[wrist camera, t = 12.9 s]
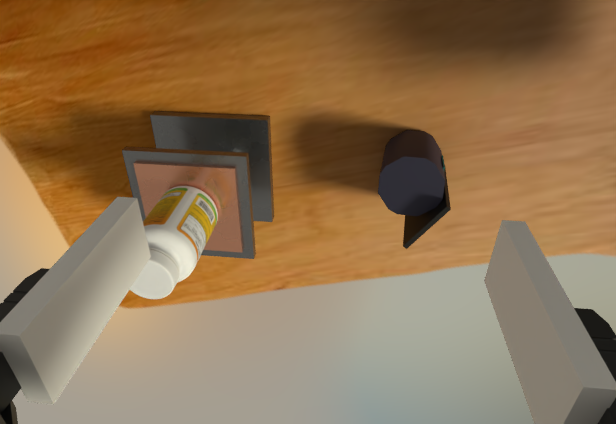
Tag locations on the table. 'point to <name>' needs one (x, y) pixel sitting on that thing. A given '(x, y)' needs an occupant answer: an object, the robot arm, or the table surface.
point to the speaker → (414, 182)
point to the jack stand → (210, 172)
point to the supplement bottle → (175, 239)
